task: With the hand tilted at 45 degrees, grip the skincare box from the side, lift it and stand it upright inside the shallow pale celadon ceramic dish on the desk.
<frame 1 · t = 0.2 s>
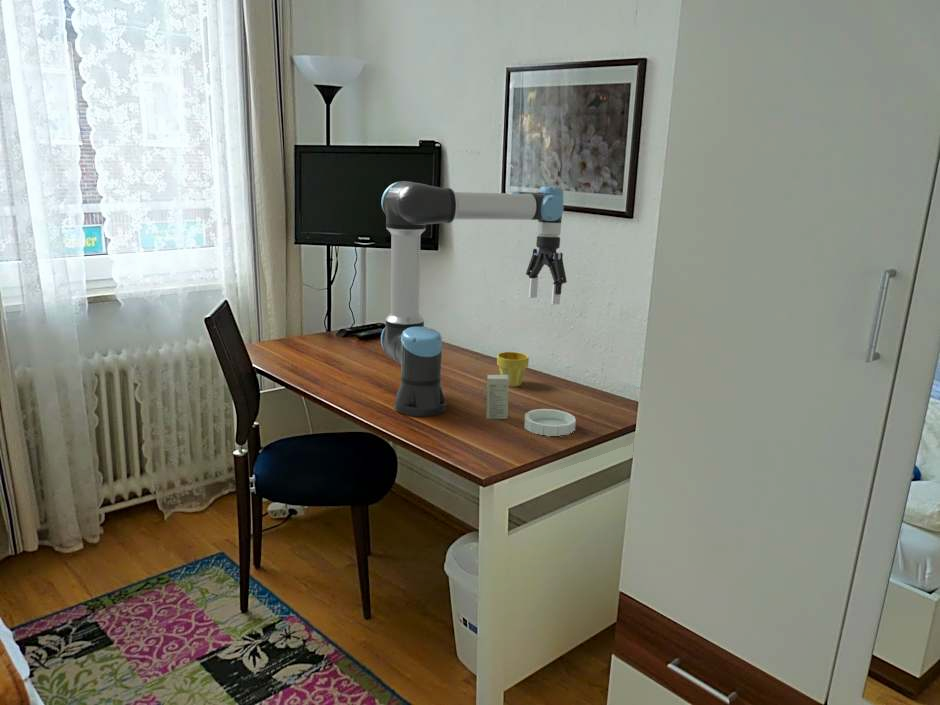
hand: (543, 300, 242), 28 cm above the table, tool pointing down, fingers open, 13 cm apart
plant pot: (511, 384, 245), on the table
skincare box: (496, 417, 213), on the table
celadon dish: (549, 427, 206), on the table
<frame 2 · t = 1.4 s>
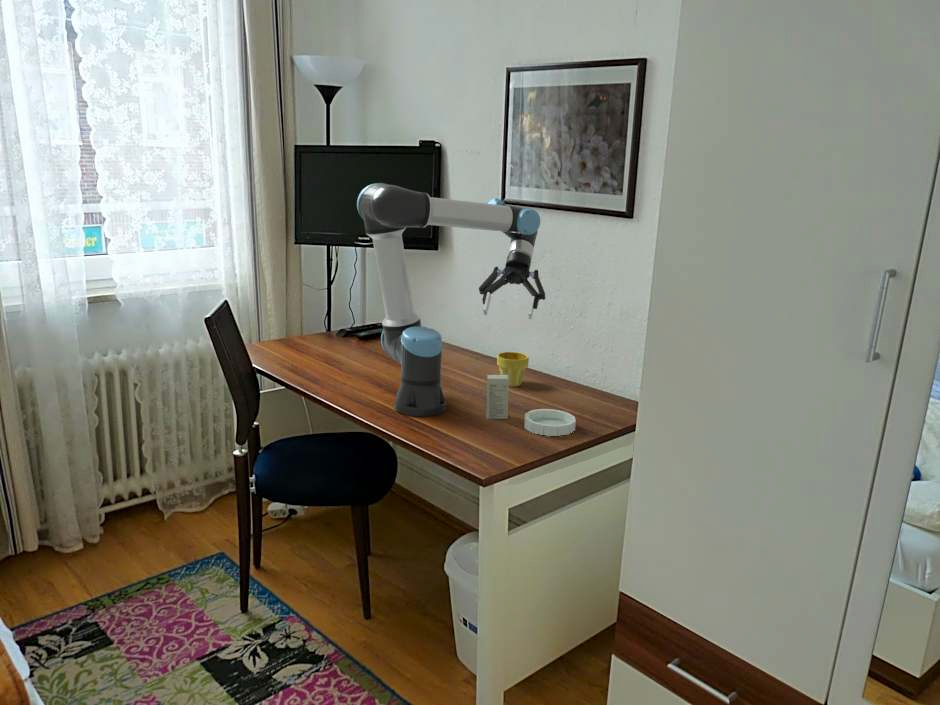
hand: (507, 314, 218), 28 cm above the table, tool tilted 45°, fingers open, 13 cm apart
nothing on the table moved.
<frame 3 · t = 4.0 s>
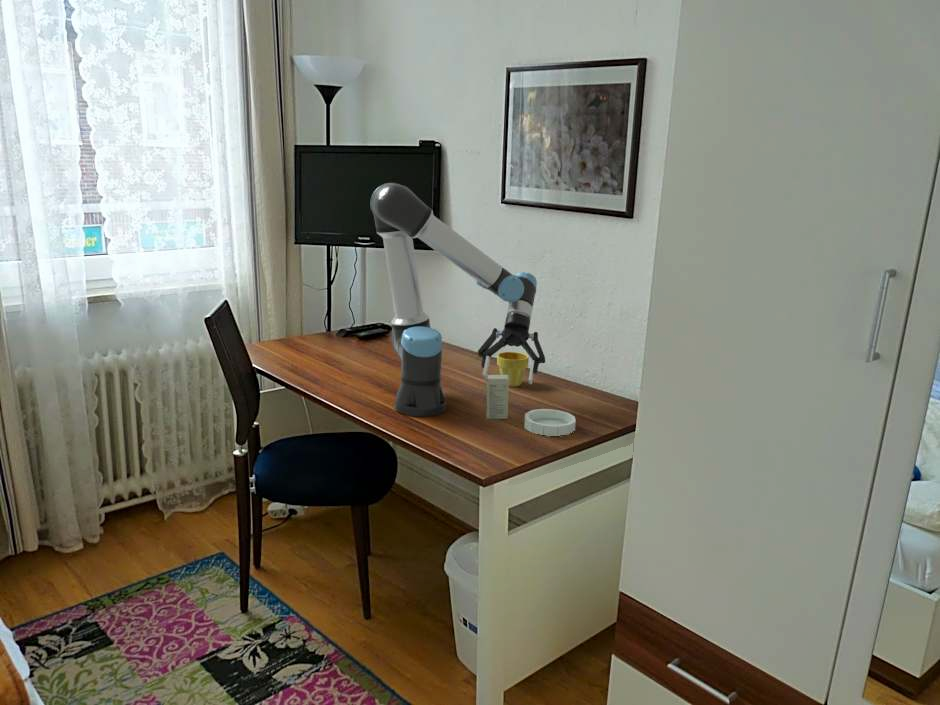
hand: (507, 379, 216), 10 cm above the table, tool tilted 45°, fingers open, 13 cm apart
nothing on the table moved.
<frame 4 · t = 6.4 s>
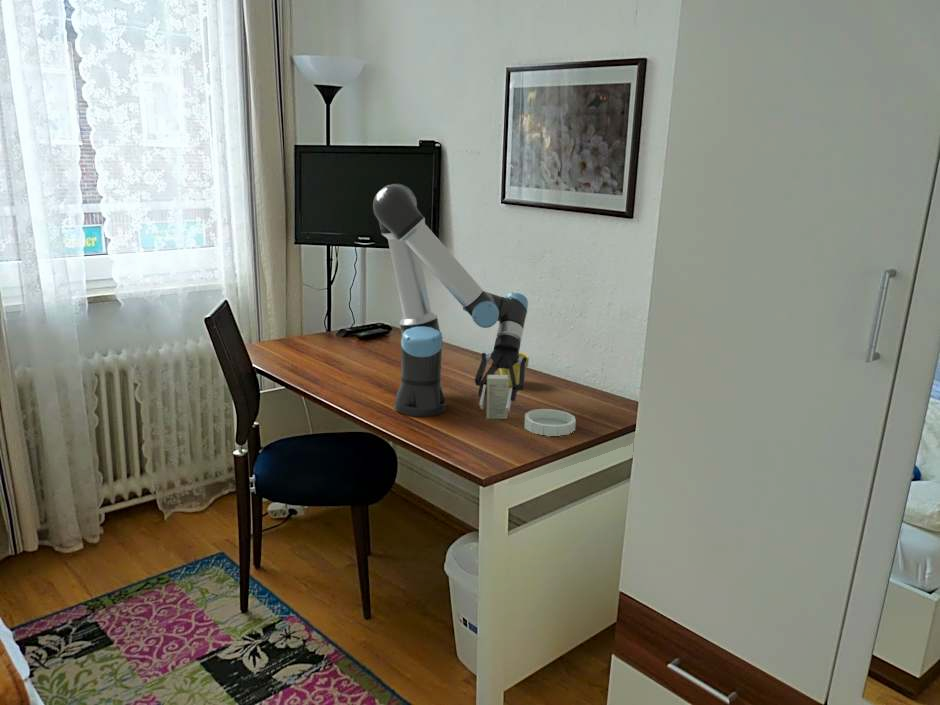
hand: (494, 408, 209), 4 cm above the table, tool tilted 45°, fingers closed on skincare box, 7 cm apart
skincare box: (496, 417, 213), on the table, touching gripper
everything else where it was.
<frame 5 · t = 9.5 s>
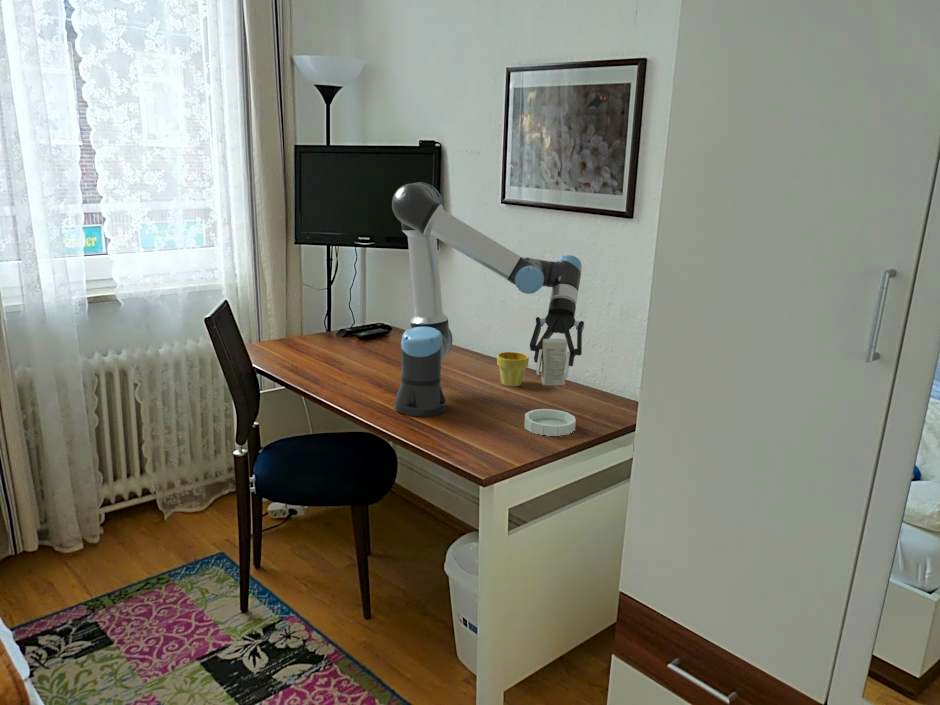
hand: (551, 373, 199), 17 cm above the table, tool tilted 45°, fingers closed on skincare box, 7 cm apart
skincare box: (552, 383, 203), point 13 cm above the table, touching gripper
everything else where it was.
when the fingers open (6 cm above the table, at t = 12.4 s): skincare box drops 1 cm, resting on celadon dish.
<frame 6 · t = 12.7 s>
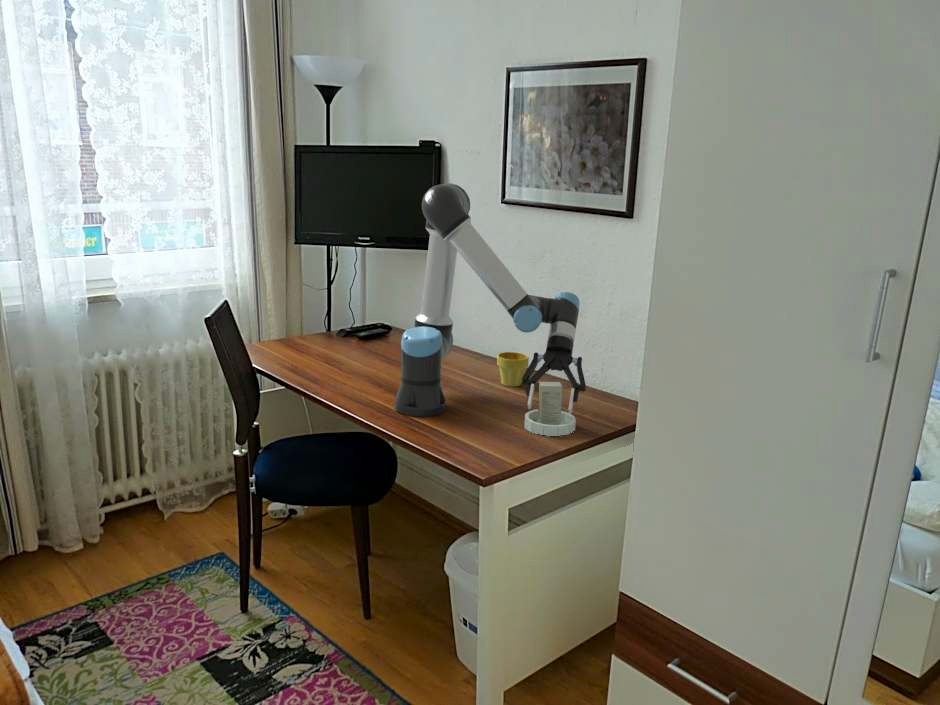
hand: (549, 409, 202), 6 cm above the table, tool tilted 45°, fingers open, 10 cm apart
skincare box: (548, 425, 206), resting on celadon dish
everything else where it was.
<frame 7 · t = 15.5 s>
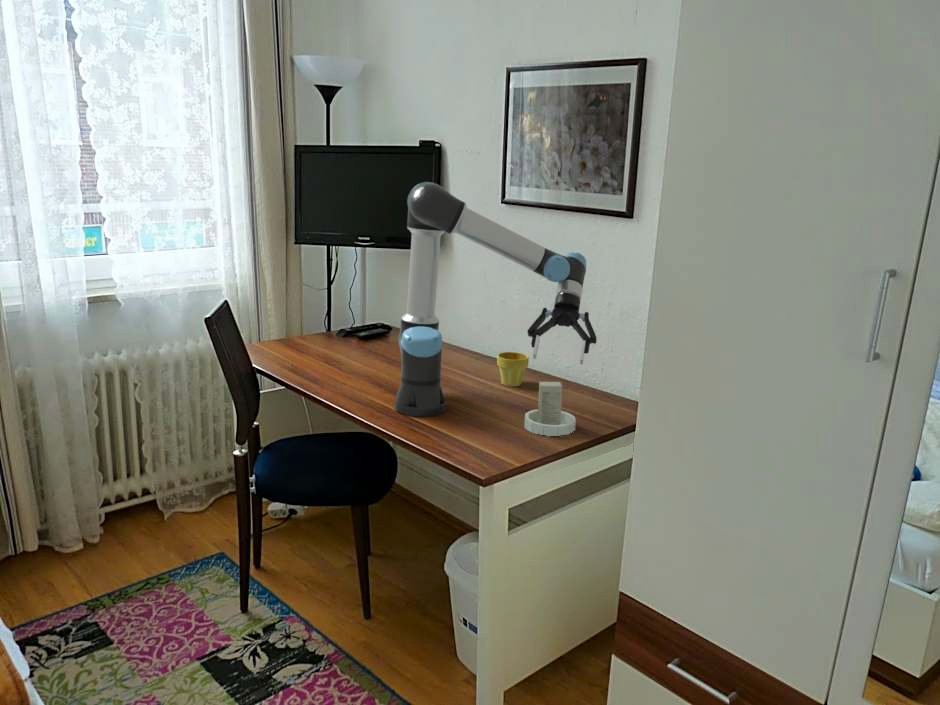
hand: (557, 359, 212), 17 cm above the table, tool tilted 45°, fingers open, 13 cm apart
nothing on the table moved.
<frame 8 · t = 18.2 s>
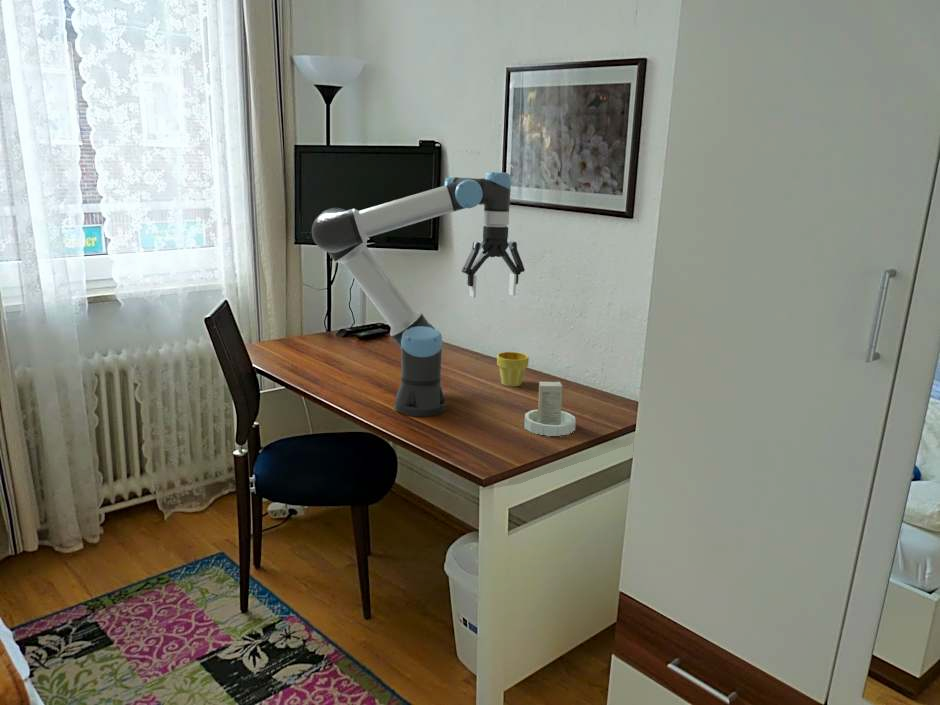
hand: (492, 295, 225), 32 cm above the table, tool pointing down, fingers open, 13 cm apart
nothing on the table moved.
at the end: skincare box inside the target area on the celadon dish (0.4 cm from its centre), point 0.4 cm above the celadon dish's base; skincare box tilted 0°; the gripper is holding nothing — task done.
